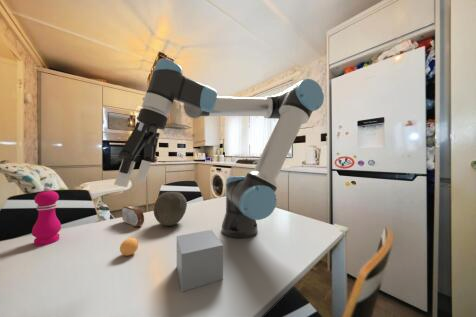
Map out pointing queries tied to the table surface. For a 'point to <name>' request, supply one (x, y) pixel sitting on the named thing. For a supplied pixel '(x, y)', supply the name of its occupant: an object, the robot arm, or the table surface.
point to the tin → (132, 215)
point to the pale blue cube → (199, 259)
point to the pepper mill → (46, 218)
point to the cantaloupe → (170, 208)
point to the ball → (129, 246)
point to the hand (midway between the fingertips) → (131, 183)
